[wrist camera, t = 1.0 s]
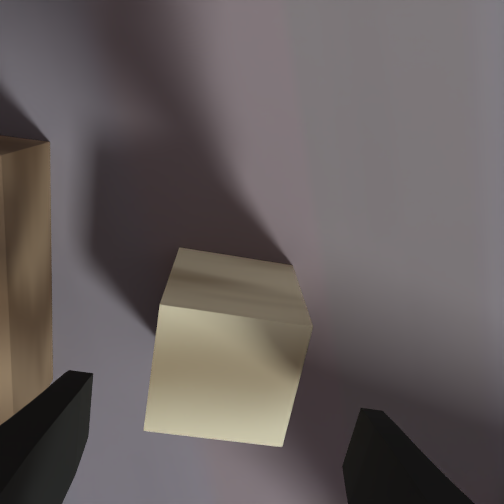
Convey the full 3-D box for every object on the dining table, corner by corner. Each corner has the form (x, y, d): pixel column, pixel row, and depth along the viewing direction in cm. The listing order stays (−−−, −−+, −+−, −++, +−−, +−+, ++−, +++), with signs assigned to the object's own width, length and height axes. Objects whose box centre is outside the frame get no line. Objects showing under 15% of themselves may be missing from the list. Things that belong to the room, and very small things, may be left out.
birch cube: (270, 360, 19) (282, 446, 15) (165, 346, 19) (143, 430, 14) (292, 264, 18) (313, 326, 13) (179, 246, 18) (159, 304, 13)
